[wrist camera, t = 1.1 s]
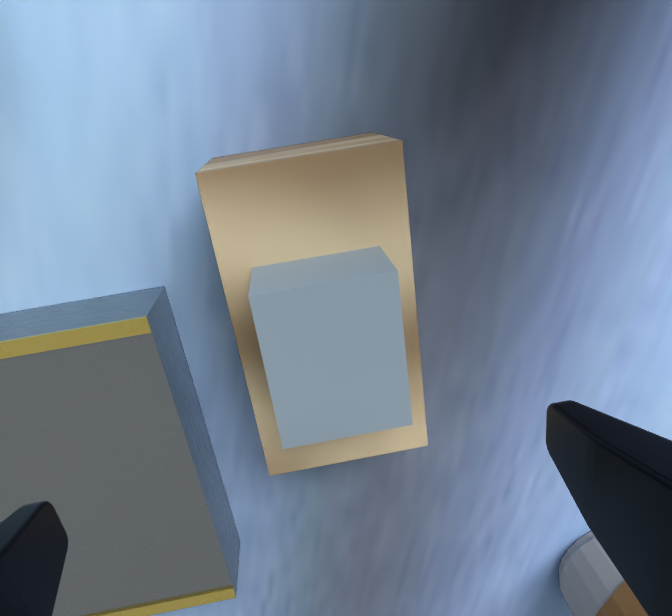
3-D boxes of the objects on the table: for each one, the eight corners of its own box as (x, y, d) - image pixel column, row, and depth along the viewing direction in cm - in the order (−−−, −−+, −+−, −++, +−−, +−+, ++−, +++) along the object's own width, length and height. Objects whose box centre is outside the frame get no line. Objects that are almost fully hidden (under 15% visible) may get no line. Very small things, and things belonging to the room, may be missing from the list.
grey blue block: (252, 267, 15) (248, 296, 13) (379, 245, 15) (397, 270, 13) (281, 403, 17) (283, 449, 15) (394, 382, 17) (412, 424, 15)
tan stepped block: (213, 157, 18) (195, 173, 14) (373, 132, 18) (402, 140, 14) (270, 407, 22) (269, 476, 18) (399, 383, 23) (427, 445, 19)
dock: (164, 286, 20) (131, 341, 15) (240, 541, 25) (232, 639, 21) (-176, 344, 19) (-318, 420, 14) (-22, 593, 25) (-90, 706, 20)
